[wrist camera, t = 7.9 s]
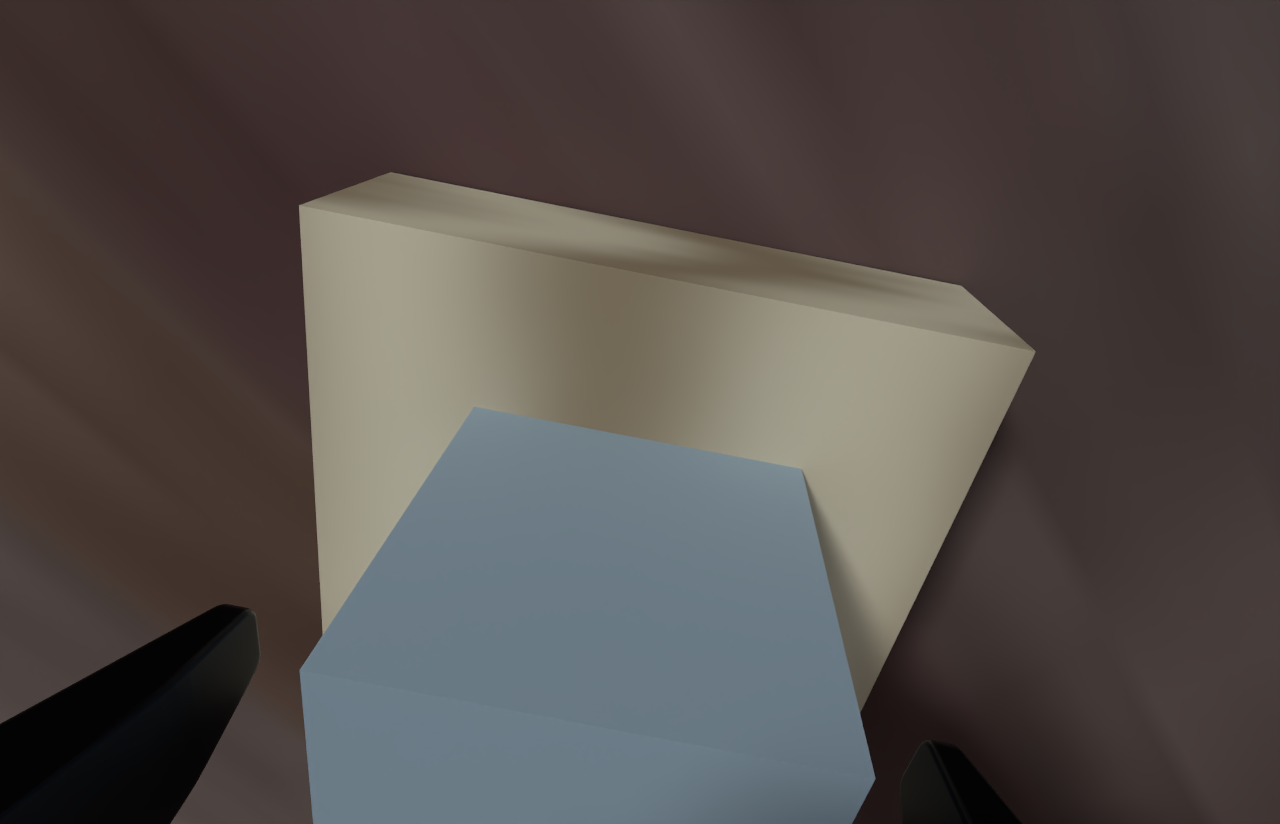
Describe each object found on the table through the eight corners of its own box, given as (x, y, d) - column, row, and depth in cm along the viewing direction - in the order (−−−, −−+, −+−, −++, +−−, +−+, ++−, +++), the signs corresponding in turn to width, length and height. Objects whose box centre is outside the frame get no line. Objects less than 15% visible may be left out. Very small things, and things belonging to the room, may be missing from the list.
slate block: (801, 469, 10) (875, 779, 6) (726, 694, 13) (737, 1039, 8) (473, 406, 10) (298, 670, 6) (458, 644, 13) (325, 962, 8)
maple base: (960, 286, 12) (1035, 351, 9) (797, 683, 16) (816, 803, 14) (390, 172, 12) (299, 205, 9) (387, 603, 16) (327, 709, 14)
